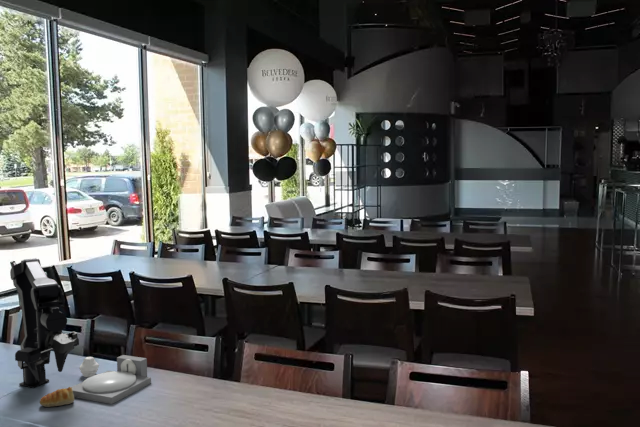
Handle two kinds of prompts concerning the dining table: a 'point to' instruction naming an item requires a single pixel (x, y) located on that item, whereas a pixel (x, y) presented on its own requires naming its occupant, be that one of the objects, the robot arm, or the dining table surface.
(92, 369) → the garlic bulb
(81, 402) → the dining table surface
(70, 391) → the pastry
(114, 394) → the scale
